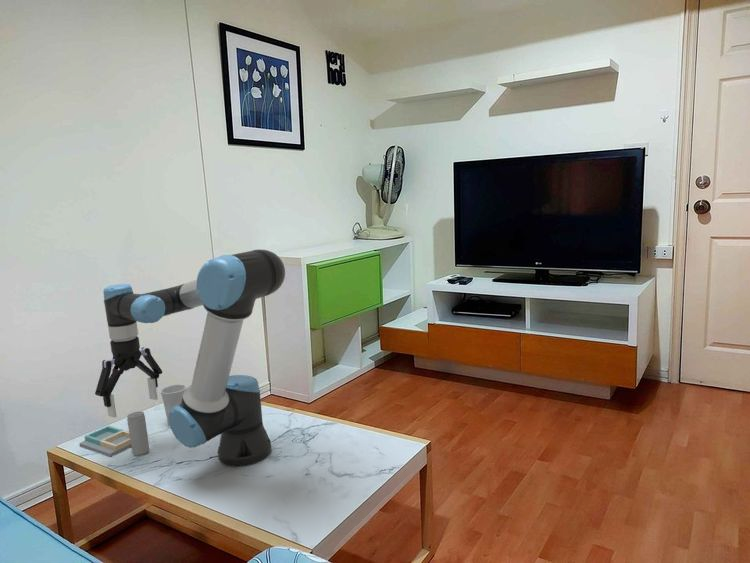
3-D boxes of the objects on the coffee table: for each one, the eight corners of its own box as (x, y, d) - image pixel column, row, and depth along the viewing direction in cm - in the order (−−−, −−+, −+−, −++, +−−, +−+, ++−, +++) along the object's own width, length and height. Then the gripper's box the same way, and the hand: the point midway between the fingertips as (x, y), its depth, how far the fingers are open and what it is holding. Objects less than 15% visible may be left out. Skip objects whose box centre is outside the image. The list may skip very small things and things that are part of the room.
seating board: (146, 439, 169) (144, 432, 169) (110, 457, 159) (109, 449, 159) (115, 430, 178) (114, 423, 177) (79, 446, 168) (78, 438, 167)
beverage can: (143, 456, 158) (137, 418, 156) (128, 455, 159) (123, 417, 157) (153, 448, 163) (147, 411, 161) (138, 448, 164) (133, 411, 162)
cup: (166, 420, 183) (161, 386, 181) (190, 415, 186) (186, 382, 183) (164, 429, 176) (159, 395, 174) (190, 425, 178) (185, 390, 176)
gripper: (153, 325, 167) (161, 390, 171) (74, 348, 146) (85, 421, 150) (169, 328, 163) (177, 394, 167) (90, 352, 143) (101, 426, 146)
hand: (133, 407), depth 159 cm, fingers open, 13 cm apart
